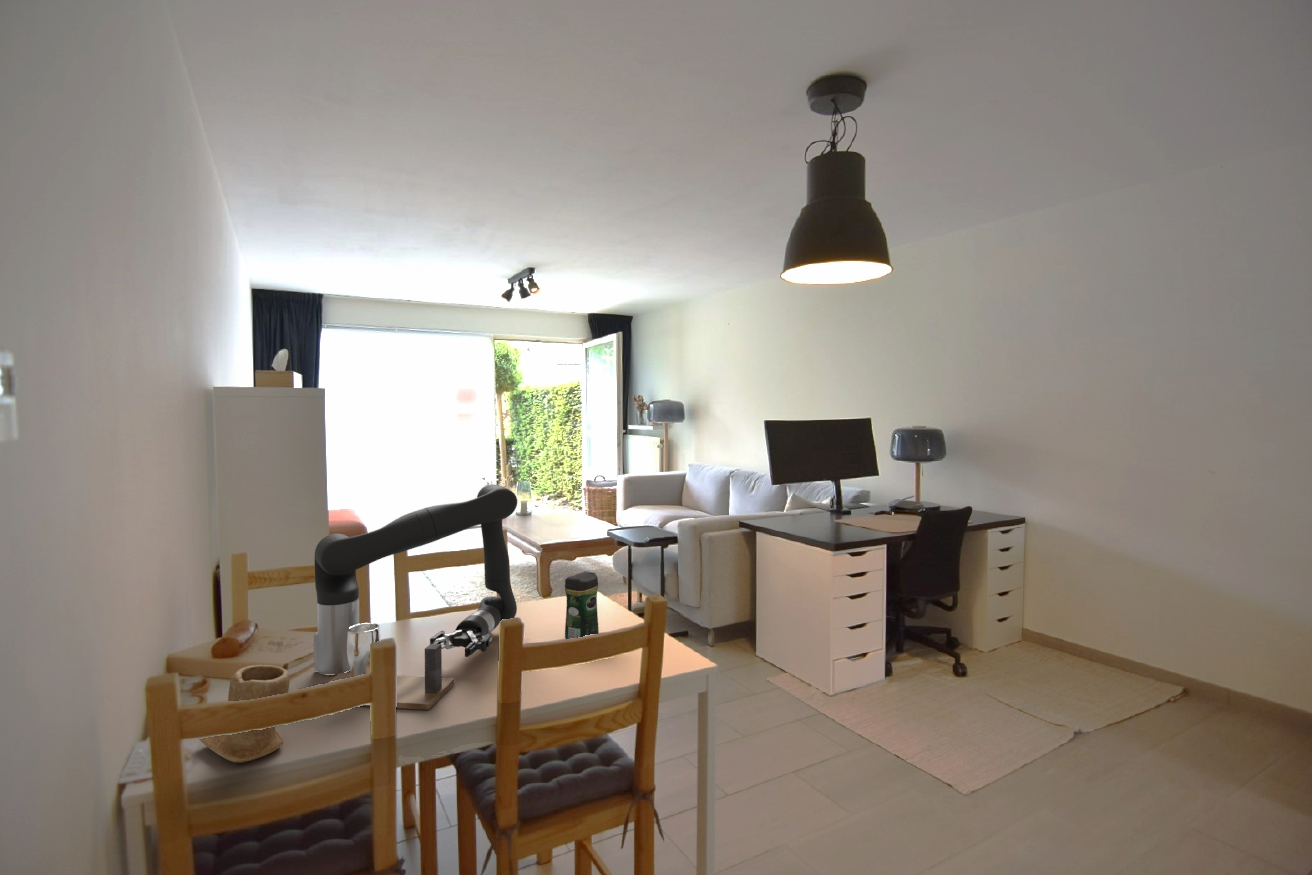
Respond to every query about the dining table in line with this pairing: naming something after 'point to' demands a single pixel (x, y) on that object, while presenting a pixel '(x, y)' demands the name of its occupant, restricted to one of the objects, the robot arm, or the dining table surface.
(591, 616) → the coffee jar
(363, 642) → the beer glass
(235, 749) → the stone cup
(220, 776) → the dining table surface
